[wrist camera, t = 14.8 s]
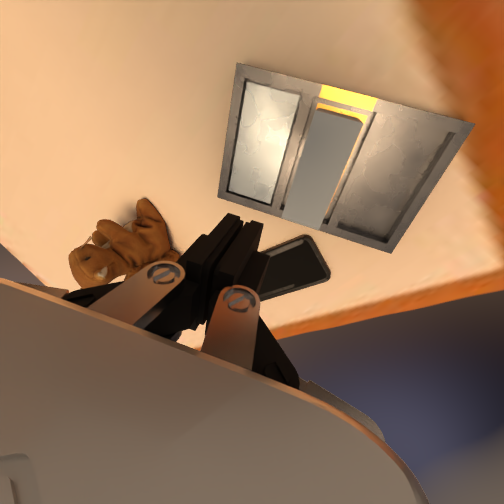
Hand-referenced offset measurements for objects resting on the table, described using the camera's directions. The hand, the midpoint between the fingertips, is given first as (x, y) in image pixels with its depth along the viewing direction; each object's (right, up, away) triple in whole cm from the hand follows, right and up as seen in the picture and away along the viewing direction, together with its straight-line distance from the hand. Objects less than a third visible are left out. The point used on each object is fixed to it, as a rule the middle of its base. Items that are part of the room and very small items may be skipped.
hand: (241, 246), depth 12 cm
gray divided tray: (+9, +10, +17) cm, 22 cm away
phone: (+4, -3, +27) cm, 28 cm away
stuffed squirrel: (-15, +1, +31) cm, 34 cm away
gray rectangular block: (+8, +10, +16) cm, 21 cm away
